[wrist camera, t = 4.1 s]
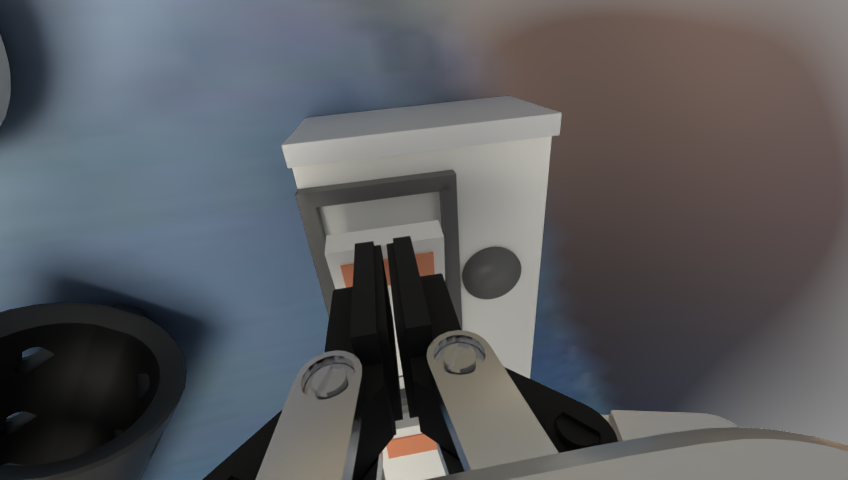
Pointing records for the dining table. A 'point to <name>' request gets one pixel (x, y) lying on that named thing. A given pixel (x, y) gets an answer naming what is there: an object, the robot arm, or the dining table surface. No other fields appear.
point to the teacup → (4, 82)
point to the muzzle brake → (84, 391)
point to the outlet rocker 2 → (411, 453)
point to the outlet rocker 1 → (425, 246)
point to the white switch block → (440, 200)
